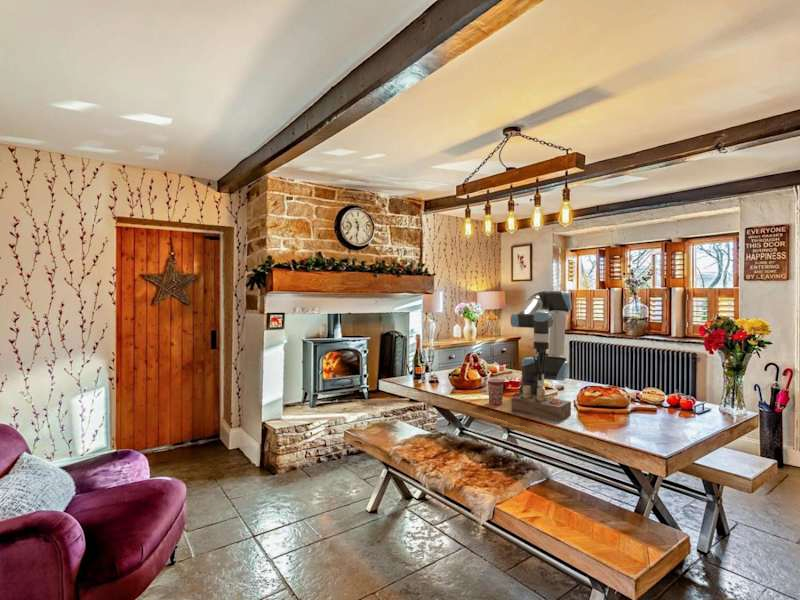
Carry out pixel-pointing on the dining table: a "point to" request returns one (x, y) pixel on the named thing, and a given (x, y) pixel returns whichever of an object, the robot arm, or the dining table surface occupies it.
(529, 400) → the socket board
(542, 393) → the plug mid
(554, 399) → the plug
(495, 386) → the mug
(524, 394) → the plug
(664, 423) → the dining table surface
